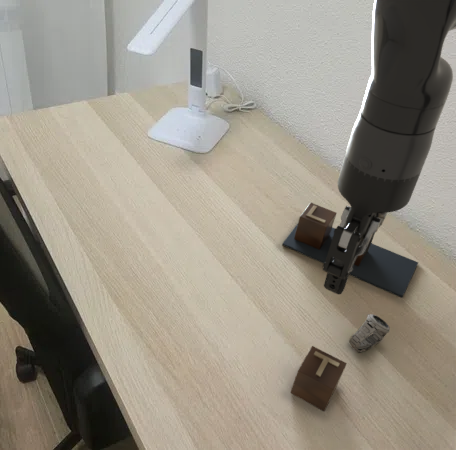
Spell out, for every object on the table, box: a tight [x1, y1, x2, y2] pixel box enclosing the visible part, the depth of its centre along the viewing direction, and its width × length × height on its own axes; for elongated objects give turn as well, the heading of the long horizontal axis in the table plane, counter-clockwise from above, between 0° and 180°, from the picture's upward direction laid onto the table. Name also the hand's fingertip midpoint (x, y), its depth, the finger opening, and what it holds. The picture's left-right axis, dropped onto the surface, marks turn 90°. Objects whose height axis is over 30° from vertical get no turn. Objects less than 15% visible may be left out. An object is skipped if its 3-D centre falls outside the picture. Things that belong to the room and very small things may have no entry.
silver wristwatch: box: [348, 313, 391, 353], centre depth 76 cm, size 4×6×5 cm, turn 120°
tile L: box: [294, 202, 337, 250], centre depth 92 cm, size 5×5×5 cm
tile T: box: [290, 345, 347, 412], centre depth 70 cm, size 5×5×5 cm
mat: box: [281, 223, 419, 298], centre depth 91 cm, size 20×9×1 cm, turn 56°
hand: (346, 269), depth 67 cm, fingers open, 8 cm apart
